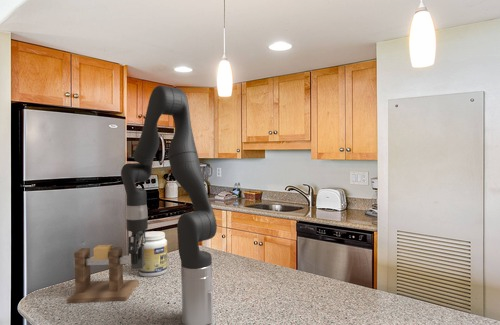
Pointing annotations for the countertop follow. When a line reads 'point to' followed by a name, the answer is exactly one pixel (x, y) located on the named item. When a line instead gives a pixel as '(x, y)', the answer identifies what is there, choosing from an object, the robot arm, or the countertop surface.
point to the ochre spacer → (102, 252)
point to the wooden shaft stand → (99, 289)
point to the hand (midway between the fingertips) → (137, 260)
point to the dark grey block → (121, 260)
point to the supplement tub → (154, 254)
